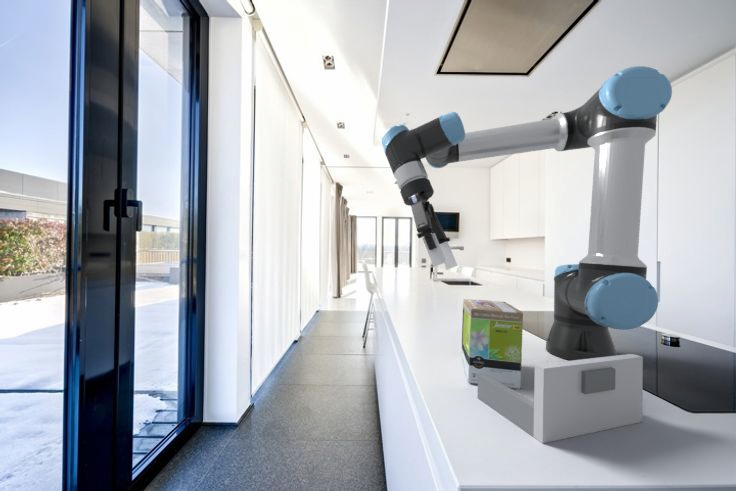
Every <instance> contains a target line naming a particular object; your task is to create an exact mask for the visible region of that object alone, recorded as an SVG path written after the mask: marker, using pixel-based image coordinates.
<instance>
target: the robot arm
mask: <svg viewBox="0 0 736 491" xmlns="http://www.w3.org/2000/svg"><path fill="white" fill-rule="evenodd" d="M672 95H673V88H672V85H671V82H670V80H669V78H668V77H667V76H666V75H665V74H663V73H661V72H659V70H658V69H655V68H653V67H650V66H643V65H642V66H641V65H638V66H637V65H635V66H630V67H626V68H624V69H622V70H619V71H618V72H616V73H615V74H613V75H612V76H611V77H610V78H608V79H607V80H606V81H604V82H603V83H602V84H601V86H600V88H598V90H597V91H596V92H595V93H594V94H593V95H592V96H591V97H590V98H589V99H587V101H586V102H585V103H584V104H583V105H581V106H579V107H578V108H575V109H572V110H571V111H570V110H569V111H566V112H562V113H561V112H560V113H558V114H557V115H556V116H555V117H553V118H549V119H544V120H536V121H532V122H524V123H518V124H512V125H505V126H499V127H494V128H488V129H481V130H475V131H474V130H473V131H469V132H466V131H465V127H464V124H463V121H462V119H461V117H460V115H459V113H458V112H455V111H450V112H448V113H446V114H443V115H439V117H436V118H435V119H432V120H430V121H428V122H426V123H424V124H422V125H419V126H417V127H415V128H411V129H409V128H408V127H407V126H406V125H404V124H399V125H392V126H391V127H389V128H387V129H386V130H385V132H384V133H383V134H382V137H381V145H382V147H383V150H384V154H385V156H386V159H387V162H388V164H389V167H390V169H391V172H392V174H393V176H394V179H395V180H394V181H393V184H395V185H397V187H398V189H399V190H400V192H399V193H400V195H401V199H402V200H403V203H404V205H405V206H409V207H411V211H412V216H413V219H414V224H415V227H416V231H417V234H416V236H417V238H418V239H421V238H422V240H423V243H424V246H425V249H426V251H427V254H428V255H429V256H428V257H429V259H430V262H431V263H432V264H431V265H432V266H433V268H434V267H437V266H440V265H443V264H444V267H445V269H446V270H447V271H448V270H450V269H453V268H455V267H458V263H457V261H456V259H455V256H454V254H453V251H452V248H451V247H450V244H449V242H450V241H451V238H450V237H447V235H446V233H445V231H444V229H443V226H442V225H441V223H440V222H441V221H440V220H439V218H438V215H437V214H436V212H435V209H434V206H433V204H432V203H430V201H429V199H431V198H432V196H433V195H434V193H435V190H434V188H433V186H432V184H431V181H430V179H429V175H428V173H427V171H426V169H425V166H424V163H423V162H422V159H425V160H426V162H427V164H428V165H429V166H430V167H432V168H435V169H441V168H444V167H446V166H447V165H449V164H452V163H453V164H454V163H460V162H467V161H472V160H473V161H474V160H479V159H480V160H481V159H486V158H487V159H488V158H495V157H500V156H507V155H515V154H516V155H517V154H523V153H529V152H536V151H543V150H545V151H546V150H551V149H553V150H555V151H556V152H565V151H572V150H579V149H580V150H581V149H587V148H588V149H589V148H593V149H594V160H593V172H592V173H593V174H592V175H593V176H592V186H591V187H592V190H591V191H592V192H591V202H590V203H591V206H590V218H589V220H590V221H589V232H588V233H589V234H588V235H589V236H588V249H587V250H588V251H587V255H586V256H584V257H583V258H582V259H581V260H579V262H578V263H577V264H576V263H575V264H563V265H562V264H561V265H558V266H557V267H556V268H555V270H554V276H553V282H554V284H553V285H554V287H553V288H554V289H553V290H554V292H553V295H554V296H553V298H554V299H553V306H554V307H553V322H552V323H553V324H552V325H551V328H550V330H549V333H548V335H547V336H548V338H547V339H546V341H545V350H546V351H547V352H548V353H549V354H551V355H553V356H556V357H558V358H561V359H565V360H567V361H572V360H581V359H590V358H599V357H608V356H617V355H618V354H617V350H616V347H615V344H614V341H613V338H612V335H611V332H610V330H609V328H610V329H614V330H620V331H626V330H628V331H629V330H633V329H636V328H639V327H642V326H643V325H645V324H646V323H648V322H650V320H651V319H652V318H653V317H654V315H655V314H656V312H657V309H658V306H659V295H658V292H657V289H656V288H655V287H654V286H653V285H652V283H651V282H650V281H649V280H648V279H647V271H648V265H647V264H645V263H644V262H643V261H642V260H641V259H640V257H639V243H640V230H641V229H640V225H641V214H642V213H641V212H642V198H643V196H642V195H643V183H644V182H643V180H644V169H645V167H644V166H645V153H646V152H645V151H646V145H647V143H648V142H650V140H652V139H653V138H654V137H655V136H656V134H657V132H656V131H657V121H658V120H657V118H658V115H659V114H660V113H662V112H663V111H665V109H666V108H667V106H668V105H669V103H670V102H671V100H672Z"/></svg>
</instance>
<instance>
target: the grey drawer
mask: <svg viewBox="0 0 736 491" xmlns="http://www.w3.org/2000/svg"><path fill="white" fill-rule="evenodd" d="M643 362H644V357H643V356H641V355H638V354H635V353H627V354H619V355H618V354H617V356H608V357H599V358H590V359H581V360H566V361H558V362H549V363H540V364H534V380H533V381H534V382H533V383H534V388H533V400H531V399H529V398H528V397H526V396H524V395H523V394H521V393H519V392H517V391H515V390H513V388H508V387H507V386H505V385H503V384H501V383H500V382H498V381H496V380H494V379H492V378H491V377H489V376H487V375H485V374H484V375H478V384H477V400H480V401H481V402H483V404H485V405H487V406H488V407H490V408H491V409H492V410H494V411H495V412H497V413H499V415H501V416H503V417H504V418H506V419H507V420H508V421H510V422H512V423H513V424H514V426H515V425H516V426H517V427H518V428H520V429H521V430H523V431H524V432H525V433H527V434H528V435H530V436H531V437H532V438H534V439H535V440H537V441H538V442H539V443H541V444H546V443H551V442H556V441H561V440H563V439H565V440H566V439H569V438H573V437H574V438H575V437H579V436H583V435H589V434H593V433H598V432H602V431H606V430H611V429H616V428H620V427H624V426H630V425H634V424H637V423H642V422H643V391H644V390H643V388H644V386H643V378H644V377H643V374H644V373H643V372H644V371H643V370H644V369H643V368H644V367H643V366H644V363H643Z"/></svg>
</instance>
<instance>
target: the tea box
mask: <svg viewBox="0 0 736 491" xmlns="http://www.w3.org/2000/svg"><path fill="white" fill-rule="evenodd" d="M523 325H524V314H523V311H521V310H519V309H518V308H516V307H514V306H513V305H512V304H509V303H508V302H506V301H500V300H499V301H498V300H487V299H486V300H485V299H468V298H467V299H466V298H464V299H463V302H462V327H461V350H460V351H461V352H460V353H461V354H460V355H461V356H460V357H461V361H462V365H463V369H464V372H465V376H466V380H467V382H468V383H470V384H474V385H478V375H484V374H485V375H487V376H489V377H491V378H492V379H494V380H496V381H498V382H500V383H501V384H503V385H505V386H507V387H508V388H510V389H518V390H519V389H520V388H521V385H522V382H521V380H522V362H523V361H522V356H523V354H522V353H523V352H522V350H523V328H524V326H523Z"/></svg>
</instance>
